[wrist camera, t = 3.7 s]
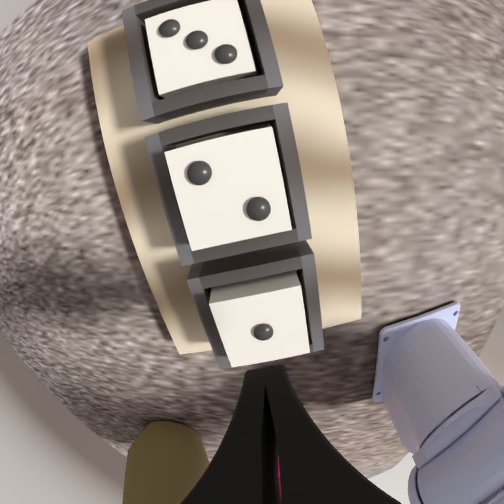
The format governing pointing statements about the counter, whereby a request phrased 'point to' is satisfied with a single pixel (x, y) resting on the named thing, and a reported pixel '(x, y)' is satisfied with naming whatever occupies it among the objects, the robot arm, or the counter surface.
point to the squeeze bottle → (164, 464)
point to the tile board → (222, 124)
